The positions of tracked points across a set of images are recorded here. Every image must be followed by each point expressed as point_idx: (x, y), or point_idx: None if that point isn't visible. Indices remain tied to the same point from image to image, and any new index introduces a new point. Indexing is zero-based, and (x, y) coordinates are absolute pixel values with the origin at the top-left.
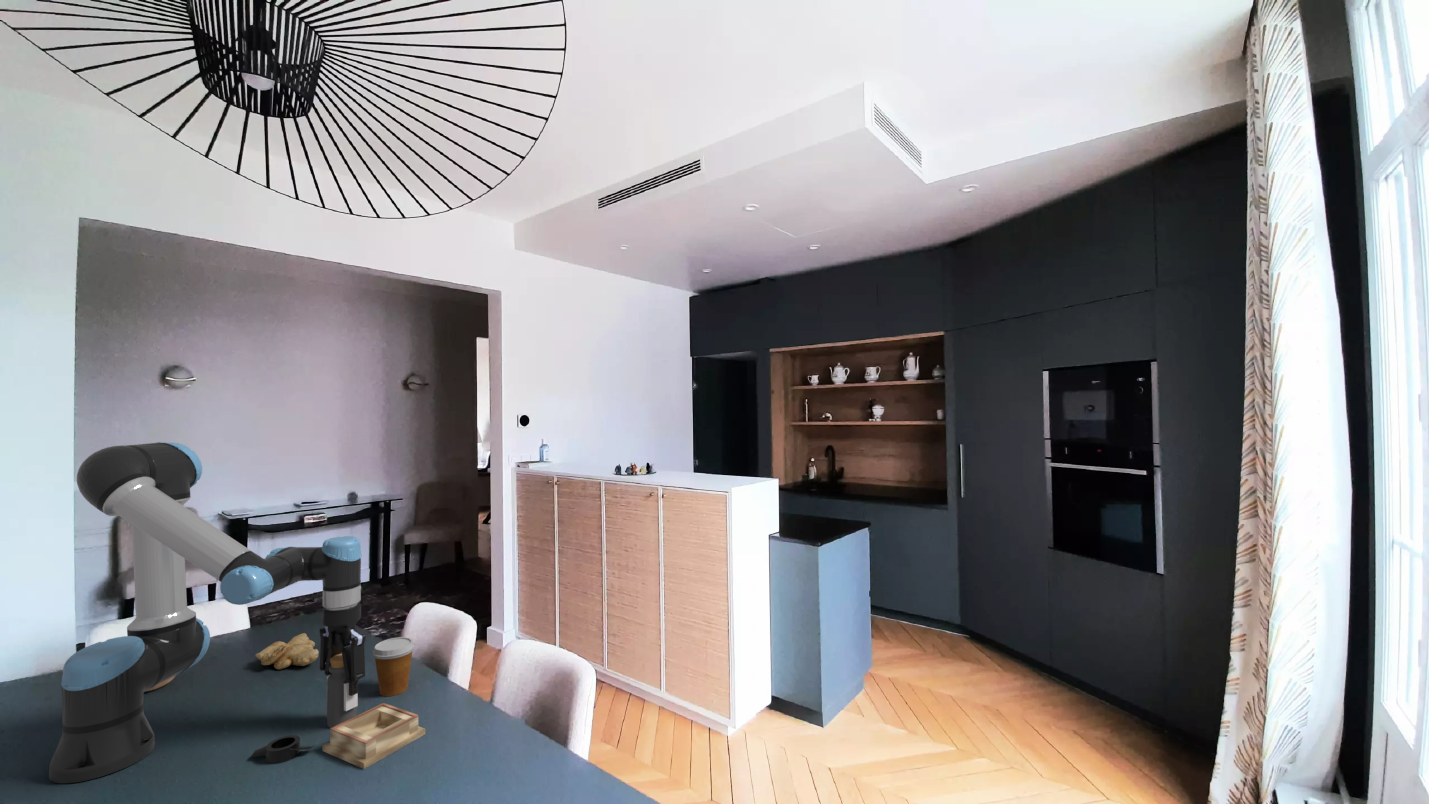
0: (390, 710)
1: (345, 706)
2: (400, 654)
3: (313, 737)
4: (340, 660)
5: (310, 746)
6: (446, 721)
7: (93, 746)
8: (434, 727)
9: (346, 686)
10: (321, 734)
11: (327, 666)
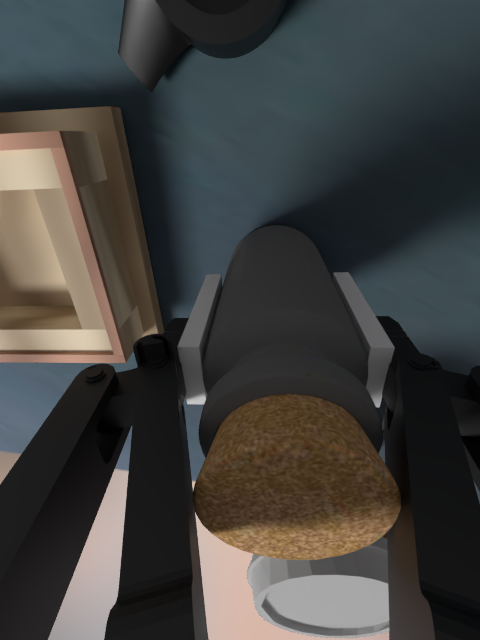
0: (57, 344)
1: (207, 282)
2: (250, 563)
3: (259, 150)
4: (216, 474)
5: (138, 65)
6: (22, 390)
7: None
8: (11, 363)
9: (185, 335)
10: (253, 180)
11: (423, 399)
